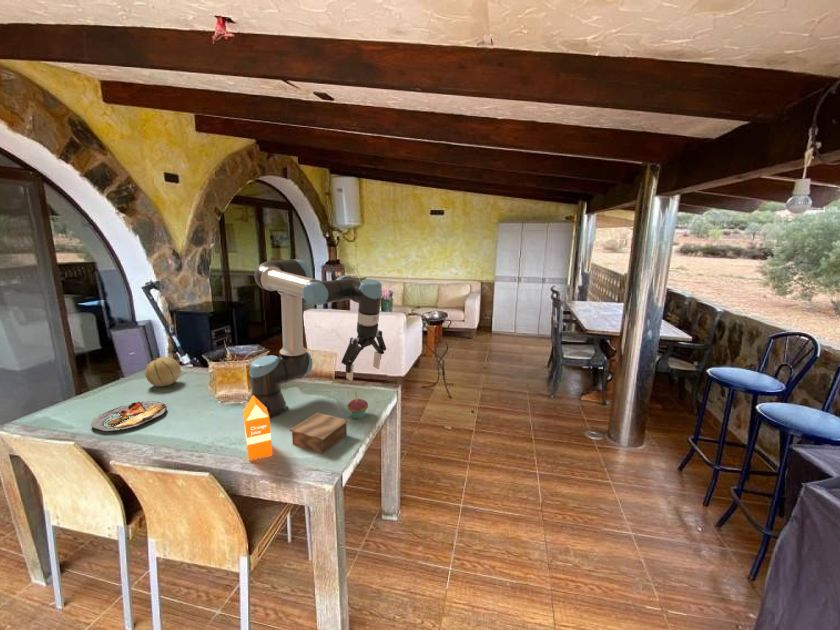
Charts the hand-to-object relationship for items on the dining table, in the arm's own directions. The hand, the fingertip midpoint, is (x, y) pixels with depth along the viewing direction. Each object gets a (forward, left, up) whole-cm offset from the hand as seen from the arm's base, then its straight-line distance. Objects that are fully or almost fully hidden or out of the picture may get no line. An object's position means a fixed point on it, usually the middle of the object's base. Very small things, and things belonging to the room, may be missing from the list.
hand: (363, 373), depth 146 cm
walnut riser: (-11, -13, -24) cm, 29 cm away
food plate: (-92, -34, -24) cm, 101 cm away
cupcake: (-9, +10, -24) cm, 28 cm away
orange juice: (-25, -29, -24) cm, 45 cm away
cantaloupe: (-115, -6, -24) cm, 118 cm away
